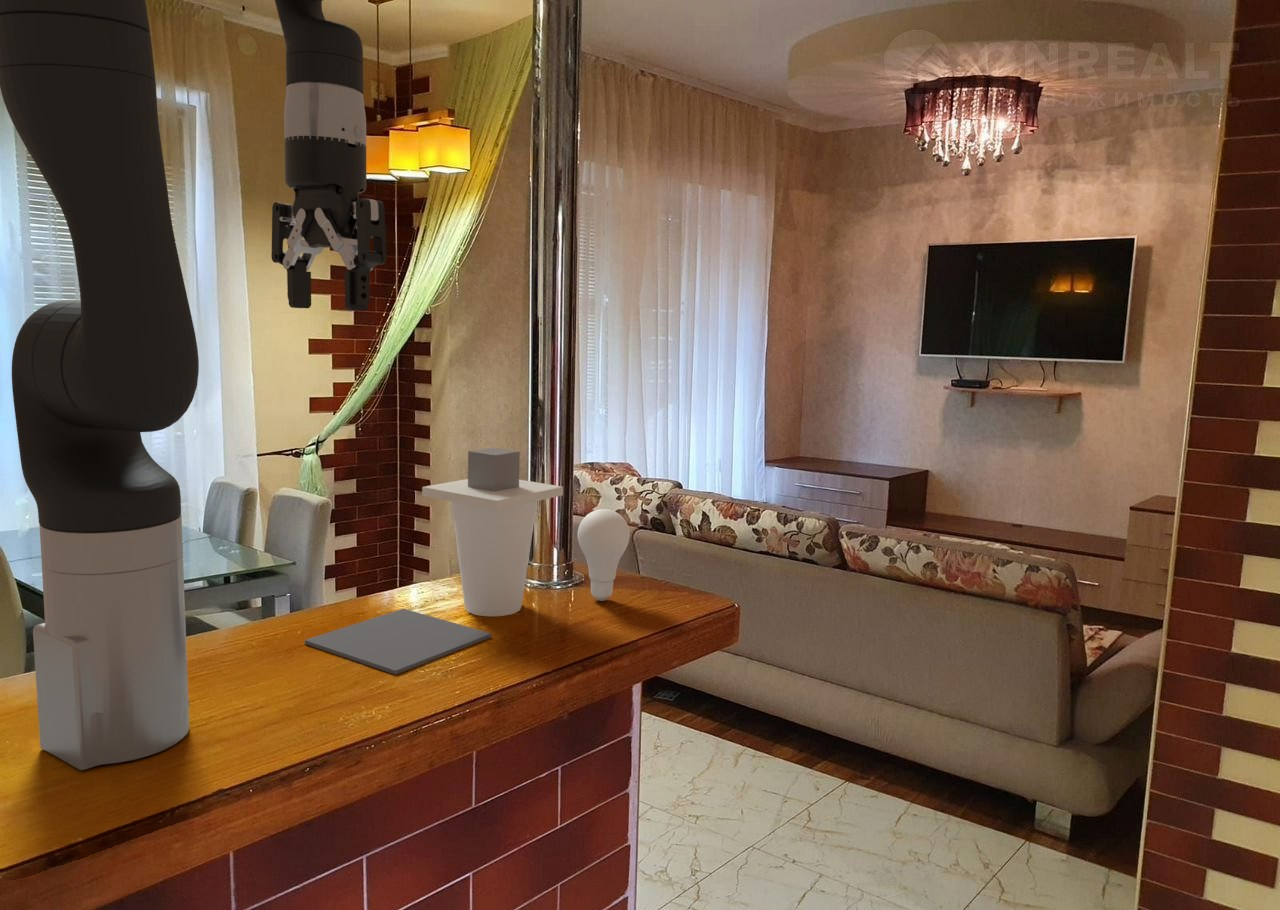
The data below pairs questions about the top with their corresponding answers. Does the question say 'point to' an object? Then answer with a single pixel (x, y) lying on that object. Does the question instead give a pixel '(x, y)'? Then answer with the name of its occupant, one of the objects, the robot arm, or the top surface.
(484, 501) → the cover
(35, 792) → the top surface
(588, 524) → the lightbulb
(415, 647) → the mat
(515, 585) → the foam cup
